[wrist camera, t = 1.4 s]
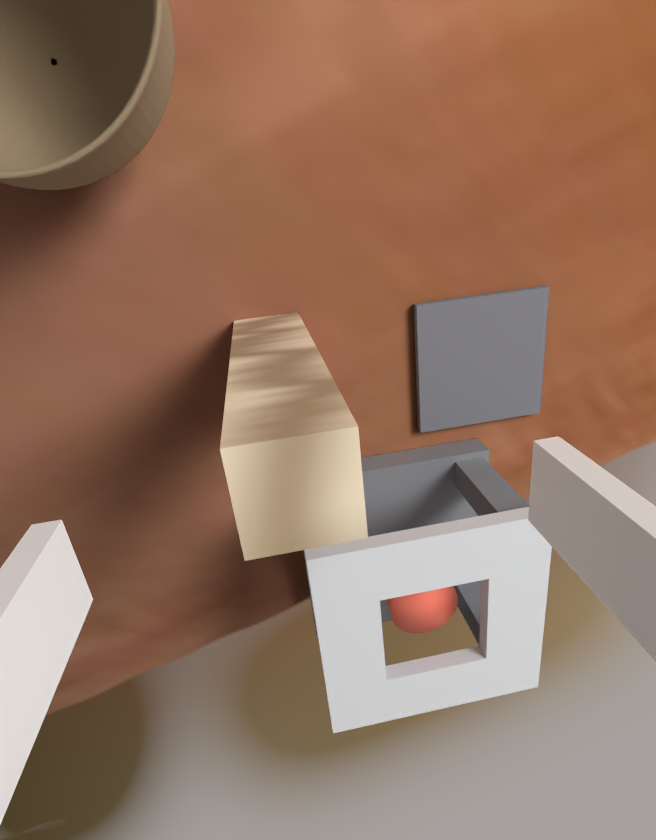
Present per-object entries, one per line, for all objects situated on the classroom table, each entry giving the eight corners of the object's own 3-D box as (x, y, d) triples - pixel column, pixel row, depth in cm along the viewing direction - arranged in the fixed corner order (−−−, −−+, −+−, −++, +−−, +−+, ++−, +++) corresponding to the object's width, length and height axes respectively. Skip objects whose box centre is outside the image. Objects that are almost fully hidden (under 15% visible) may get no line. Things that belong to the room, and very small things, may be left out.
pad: (418, 429, 35) (420, 432, 35) (413, 304, 31) (416, 305, 31) (535, 409, 36) (539, 412, 35) (544, 285, 32) (549, 286, 32)
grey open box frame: (313, 616, 40) (333, 733, 31) (290, 469, 35) (306, 560, 26) (474, 583, 42) (537, 686, 33) (477, 437, 36) (554, 513, 27)
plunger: (373, 581, 37) (393, 639, 32) (369, 534, 35) (389, 586, 30) (429, 570, 37) (457, 625, 32) (428, 523, 35) (457, 573, 30)
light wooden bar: (245, 381, 32) (244, 560, 15) (233, 320, 30) (219, 449, 14) (305, 372, 32) (368, 537, 16) (297, 312, 31) (357, 426, 14)
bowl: (187, -95, 23) (148, -304, 13) (193, 204, 27) (167, 200, 18) (-125, -155, 20) (-424, -453, 11) (-59, 182, 25) (-231, 163, 16)
